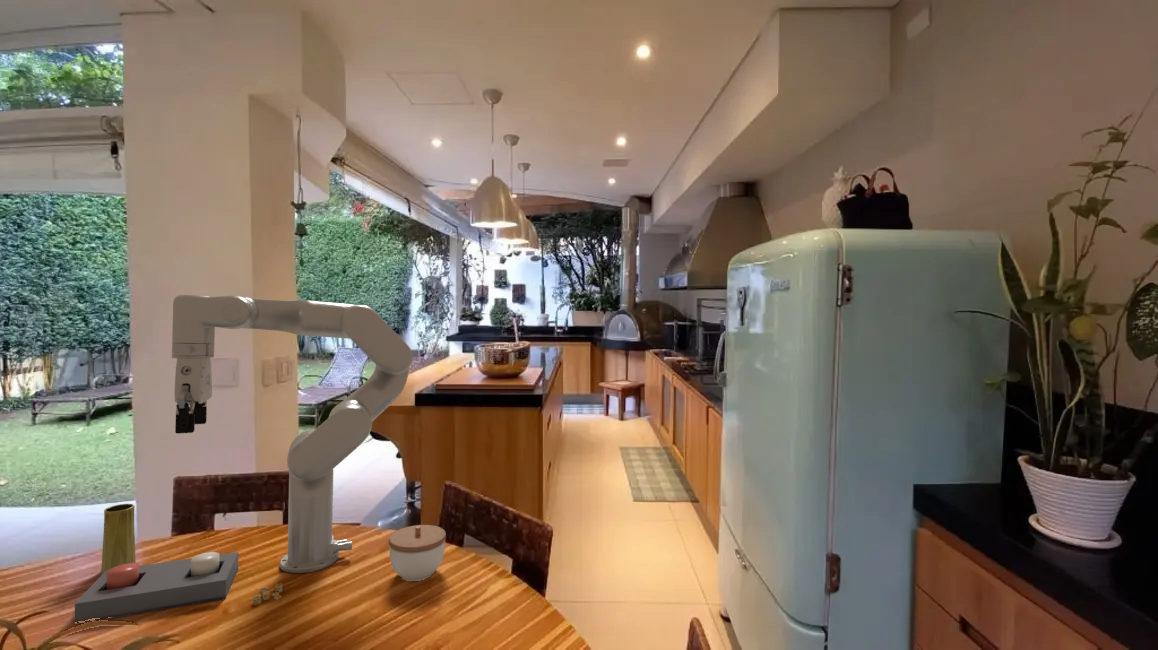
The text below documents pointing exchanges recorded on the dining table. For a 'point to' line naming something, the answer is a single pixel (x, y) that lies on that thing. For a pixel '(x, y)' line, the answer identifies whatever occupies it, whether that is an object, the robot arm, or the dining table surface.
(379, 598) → the dining table surface
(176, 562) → the button panel
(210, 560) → the ivory button
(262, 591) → the dice set
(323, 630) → the dining table surface
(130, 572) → the red button
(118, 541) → the vase
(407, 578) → the lidded bowl
